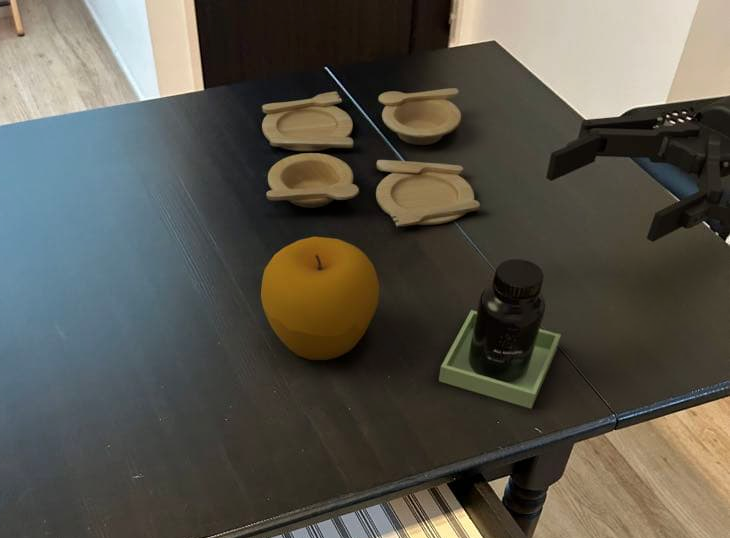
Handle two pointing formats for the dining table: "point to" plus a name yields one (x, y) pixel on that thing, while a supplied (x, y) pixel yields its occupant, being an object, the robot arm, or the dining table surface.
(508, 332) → the supplement bottle
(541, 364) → the tray
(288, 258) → the apple
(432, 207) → the tableware set
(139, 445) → the dining table surface
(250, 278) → the dining table surface
